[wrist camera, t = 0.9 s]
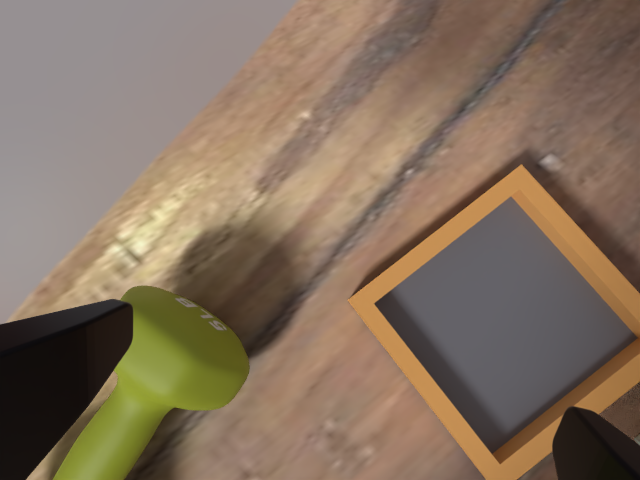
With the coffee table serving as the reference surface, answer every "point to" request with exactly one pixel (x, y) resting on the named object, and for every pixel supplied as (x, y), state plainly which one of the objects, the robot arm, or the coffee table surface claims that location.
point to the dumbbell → (157, 381)
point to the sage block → (637, 439)
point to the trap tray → (508, 324)
